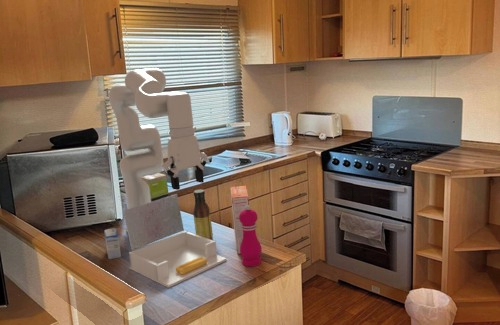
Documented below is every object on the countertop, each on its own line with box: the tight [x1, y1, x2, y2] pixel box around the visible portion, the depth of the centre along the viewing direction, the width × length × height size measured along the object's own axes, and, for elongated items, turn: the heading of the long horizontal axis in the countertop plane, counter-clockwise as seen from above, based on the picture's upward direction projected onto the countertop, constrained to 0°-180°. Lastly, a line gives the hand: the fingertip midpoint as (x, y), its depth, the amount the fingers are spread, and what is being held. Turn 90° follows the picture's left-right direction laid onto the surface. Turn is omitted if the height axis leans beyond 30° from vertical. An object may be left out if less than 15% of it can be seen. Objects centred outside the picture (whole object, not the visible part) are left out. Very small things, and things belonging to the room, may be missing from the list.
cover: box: [123, 193, 185, 251], centre depth 165 cm, size 14×22×1 cm
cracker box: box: [230, 185, 250, 255], centre depth 169 cm, size 14×6×21 cm, turn 4°
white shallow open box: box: [128, 230, 227, 288], centre depth 160 cm, size 22×24×6 cm
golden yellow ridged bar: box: [176, 257, 207, 274], centre depth 155 cm, size 4×11×2 cm, turn 135°
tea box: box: [142, 172, 170, 202], centre depth 230 cm, size 15×10×15 cm, turn 42°
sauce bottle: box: [192, 189, 214, 241], centre depth 177 cm, size 7×6×20 cm
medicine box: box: [103, 227, 122, 260], centre depth 172 cm, size 8×4×9 cm, turn 21°
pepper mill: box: [239, 204, 263, 267], centre depth 156 cm, size 7×7×20 cm
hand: (188, 185), depth 152 cm, fingers open, 9 cm apart
